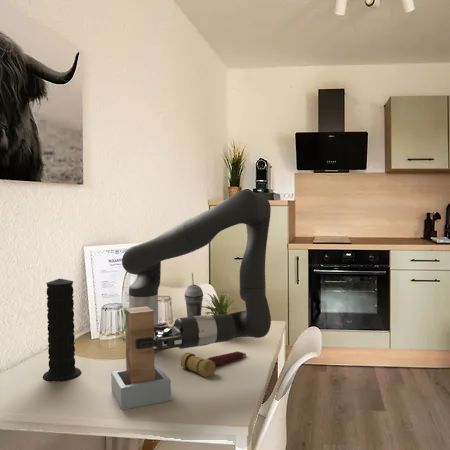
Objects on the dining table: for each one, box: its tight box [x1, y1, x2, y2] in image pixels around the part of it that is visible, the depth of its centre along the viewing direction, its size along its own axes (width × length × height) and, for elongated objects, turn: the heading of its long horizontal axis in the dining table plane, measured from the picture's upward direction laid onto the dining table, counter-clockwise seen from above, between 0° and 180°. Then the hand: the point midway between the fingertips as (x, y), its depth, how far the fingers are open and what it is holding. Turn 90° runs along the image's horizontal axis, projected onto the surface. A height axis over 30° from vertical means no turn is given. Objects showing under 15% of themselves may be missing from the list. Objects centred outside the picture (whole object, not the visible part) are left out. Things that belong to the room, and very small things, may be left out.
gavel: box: [180, 351, 247, 378], centre depth 134 cm, size 21×5×10 cm
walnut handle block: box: [124, 306, 156, 385], centre depth 112 cm, size 6×6×20 cm
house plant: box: [201, 291, 238, 316], centre depth 163 cm, size 14×14×16 cm
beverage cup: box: [184, 272, 204, 317], centre depth 178 cm, size 7×7×20 cm
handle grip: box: [42, 278, 82, 383], centre depth 127 cm, size 10×26×10 cm
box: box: [110, 364, 172, 411], centre depth 113 cm, size 12×12×5 cm
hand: (131, 339), depth 111 cm, fingers open, 8 cm apart
